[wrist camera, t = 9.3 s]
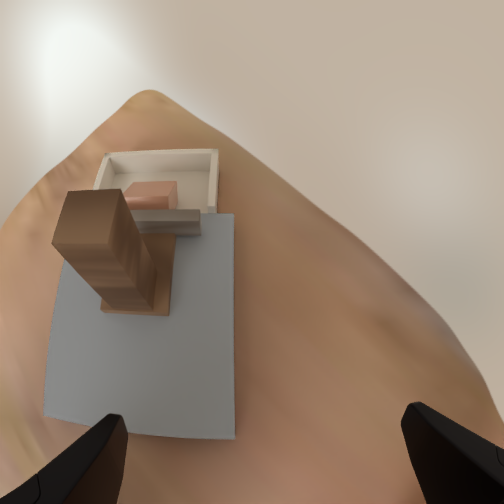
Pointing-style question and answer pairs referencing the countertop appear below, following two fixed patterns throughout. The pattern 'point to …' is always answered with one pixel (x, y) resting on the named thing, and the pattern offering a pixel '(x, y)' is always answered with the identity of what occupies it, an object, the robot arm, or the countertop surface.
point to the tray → (166, 174)
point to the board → (152, 348)
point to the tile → (152, 195)
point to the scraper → (123, 249)
